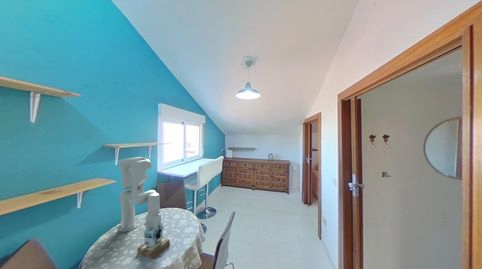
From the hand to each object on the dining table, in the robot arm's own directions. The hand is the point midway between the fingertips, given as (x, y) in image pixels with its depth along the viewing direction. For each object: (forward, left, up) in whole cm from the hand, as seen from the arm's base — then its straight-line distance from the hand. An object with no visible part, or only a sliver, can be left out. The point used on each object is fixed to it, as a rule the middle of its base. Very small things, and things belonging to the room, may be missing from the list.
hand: (154, 236), depth 117 cm
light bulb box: (0, 0, -4) cm, 4 cm away
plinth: (0, 0, -9) cm, 9 cm away
